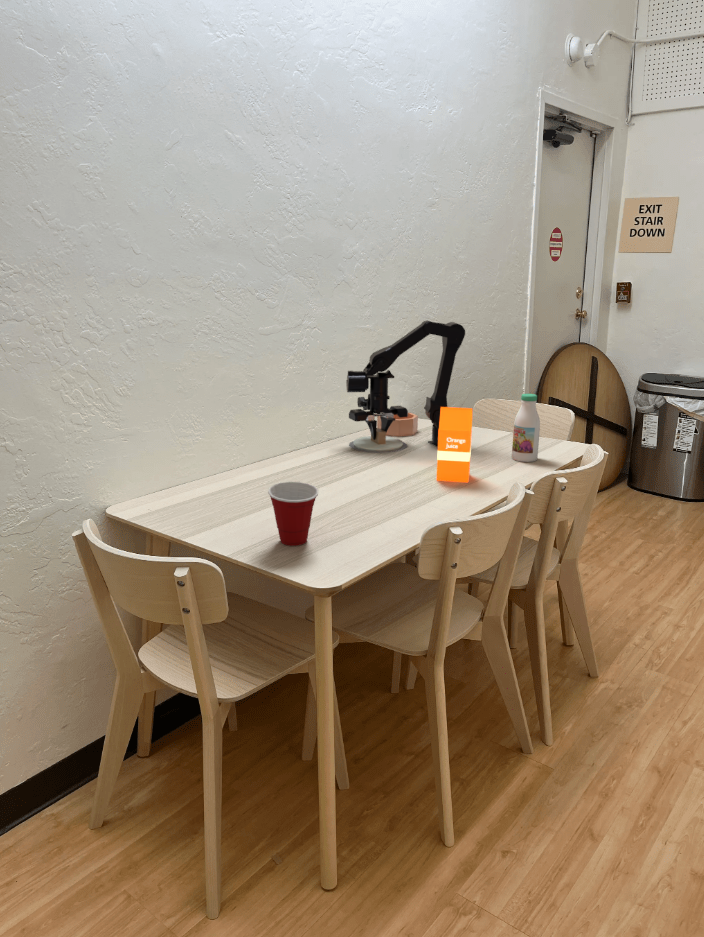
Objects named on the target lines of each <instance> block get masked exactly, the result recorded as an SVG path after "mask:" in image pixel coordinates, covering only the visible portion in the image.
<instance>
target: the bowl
mask: <svg viewBox="0 0 704 937" xmlns="http://www.w3.org/2000/svg"><path fill="white" fill-rule="evenodd" d="M394 418H395V421H393V422H392V423H391V425H390V427H389V428H388V430H387V432H386V436H387V437H398V438H400V437H408V436H409V437H410V436H414V435H415V434H416V433H418V424H419V423H418V421H419V415H417V414H414V413H412V412H408V417H401V418H400V417H399V416H398V415H394ZM376 419H377V420H376V421H377V428H379V429H381V418H380V416H376Z"/></svg>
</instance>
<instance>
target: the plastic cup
mask: <svg viewBox="0 0 704 937" xmlns="http://www.w3.org/2000/svg"><path fill="white" fill-rule="evenodd" d="M267 490H268V491H267V493H268V495H269V497H270V501H271V504H272V508H273V512H274V517H275V522H276V528H277V531H278V535H279V539H280V542H281V544H282V545H285V546H289V547H290V546H291V547H294V546H295V547H296V546H302V545H304V544H307V541H308V537H309V531H310V527H311V520H312V514H313V509H314V506H315V502H316V499H317V497H318V496H319V489H318V488H317V486H315V485H312V484H310V483H307V482H301V481H283V482H278V483H274V484H273V485H271V486H269V488H268V489H267Z"/></svg>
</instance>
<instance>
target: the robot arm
mask: <svg viewBox="0 0 704 937" xmlns="http://www.w3.org/2000/svg"><path fill="white" fill-rule="evenodd" d="M429 335H433V336H438V337H441V341H442V351H441V356H440V357H441V358H440V362H439V367H438V372H437V376H436V381H435V384H434V390H433V394H432V395H431V396H430V397H428V396H426V399H425V400H426V401H425V406H424V407H423V409H424V410H425V416H426V417H427V418H428V419H429V420H430V421H431V423H432V428H431V429H432V430H431V431H432V432H431V440H427V444H428V443H429V444H430V445H432V446H434V447H436V448H438V431H439V422H440V411H441V407H448V398H447V396H448V392H449V386H450V383H451V382H450V381H451V378H452V374H453V370H454V365H455V359H456V355H457V353H458V351H459V349H460V348H461V346H462V343H463V341H464V339H465V336H466V329H465V328H464V326H463V325H461V323H460V324H459V323H457V322H455V321H450V322H447V323H442V322H441V323H440V322H435V321H431V320H428V319H427V320H426V319H425V320H423V321H422V322H421V323H420V324H419V325H418V326H416V327H415V328H413V329H412V330H410V331H409V332H407V333H406V334H405V335H404V336H402V337H401V338H399V339H398V340H396V341H395V342H394V343H392V344H391V345H388V346H385V347H382V348H381V349H378V350H376V351H375V352H374V351H373V353H371V355H370V356H369V360H368V361H369V362H368V363H367V365H366V366H365V367H364V369H363V370H347V375H346V382H345V383H346V392H347V393H366V391H368V389H369V393H368V395H367V398H366V397H365V396H360V397H357V402H356V403H357V407H358V408H356V409H350V410H349V412H348V419H350V420H352V421H354V422H365V423H366V424H367V426H368V428H369V432H370V436H371V435H372V438H373V440H375V439H376V428H377V420H376V419H375V418H376V417H377V416H380V418H381V430H383V431H385V432H387V430H388V428H389V427H390V425H391V423H392V422H393V421H395V418H394V415H398V416H399V417H400V418H401V417H408V413H409V410H408V408H406V407H404V406H402V405H391V406H390V407H388V405H389V404H388V403H389V401H388V400H390V398H391V397H390V395H389V379H395V375H394V374H393V373H392V372H391V370H390V369H389V368H390V367H391V366H392V365H393V364H394V363H395V362H396V360H397V359H398V358H399V357H400V356H401V355H403V354H404V353H405V352H407V351H408V350H409V349H411V348H412V347H414V346H415V345H416V344H418V343H419V342H421V341H422V340H424V339H425V338H427V337H428V336H429ZM361 408H362V409H361Z"/></svg>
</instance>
